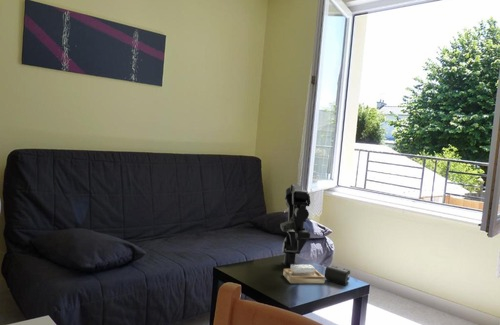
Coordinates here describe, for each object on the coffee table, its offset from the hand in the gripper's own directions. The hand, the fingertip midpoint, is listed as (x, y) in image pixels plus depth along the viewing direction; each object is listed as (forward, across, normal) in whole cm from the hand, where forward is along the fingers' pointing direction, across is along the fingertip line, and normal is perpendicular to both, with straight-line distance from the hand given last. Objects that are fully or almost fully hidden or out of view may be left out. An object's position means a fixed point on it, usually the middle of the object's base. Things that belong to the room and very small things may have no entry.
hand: (295, 248), depth 187 cm
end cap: (+12, +12, +17) cm, 24 cm away
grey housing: (+10, +8, +1) cm, 13 cm away
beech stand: (+12, +8, +2) cm, 15 cm away
